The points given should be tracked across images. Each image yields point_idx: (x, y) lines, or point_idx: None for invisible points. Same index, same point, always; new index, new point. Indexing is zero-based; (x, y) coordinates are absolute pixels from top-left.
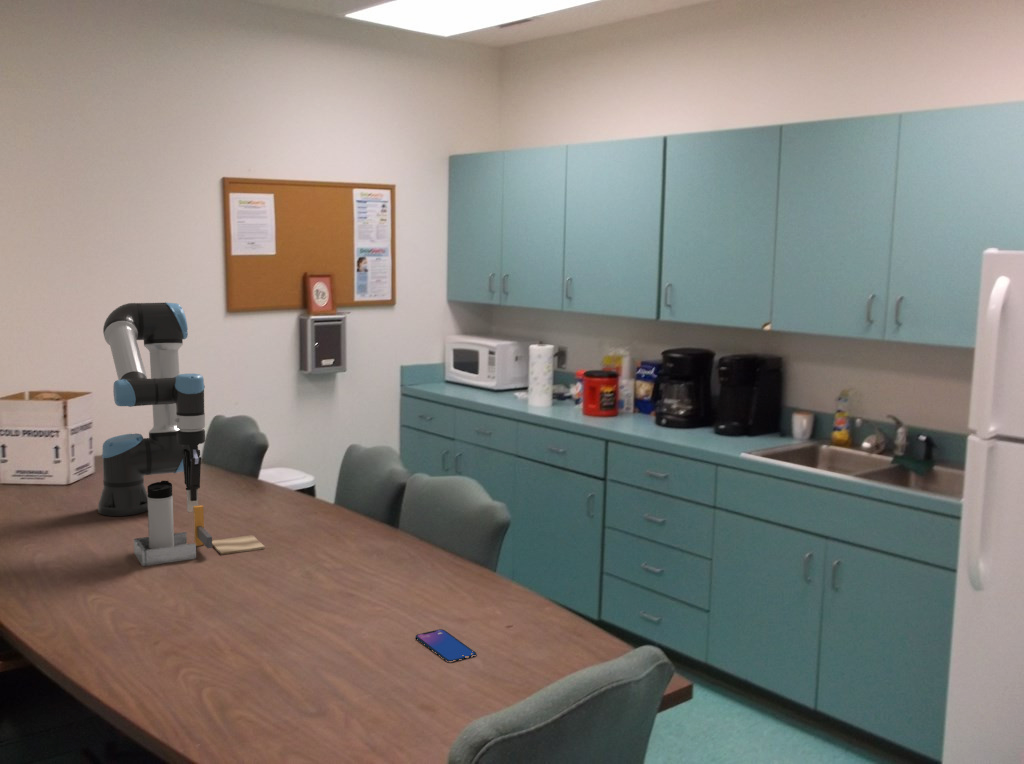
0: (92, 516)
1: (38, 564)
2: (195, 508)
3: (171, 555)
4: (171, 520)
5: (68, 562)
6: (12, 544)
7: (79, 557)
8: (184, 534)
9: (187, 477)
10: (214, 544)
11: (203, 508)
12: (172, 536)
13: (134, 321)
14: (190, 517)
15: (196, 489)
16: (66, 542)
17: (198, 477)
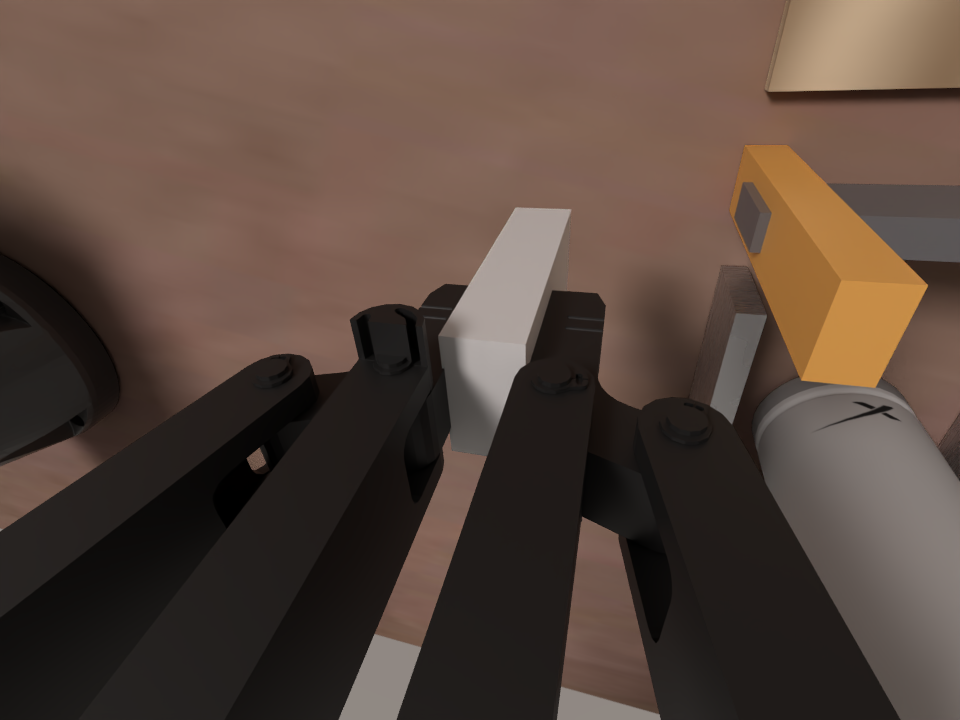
0: (122, 440)
1: (602, 662)
2: (875, 370)
3: None
4: None
5: (634, 626)
6: (383, 632)
7: (597, 596)
8: (760, 322)
9: (386, 597)
10: (912, 77)
11: (913, 272)
12: (957, 483)
13: None
14: (106, 78)
15: (605, 394)
16: (408, 566)
17: (855, 707)
